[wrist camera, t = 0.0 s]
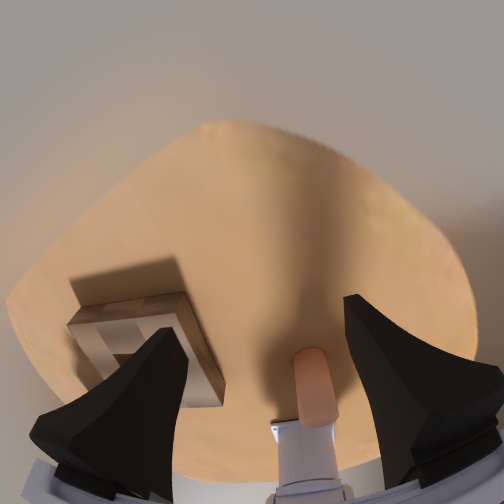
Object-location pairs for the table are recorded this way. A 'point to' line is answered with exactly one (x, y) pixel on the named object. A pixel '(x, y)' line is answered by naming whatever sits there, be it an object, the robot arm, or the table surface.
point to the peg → (314, 389)
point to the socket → (139, 331)
